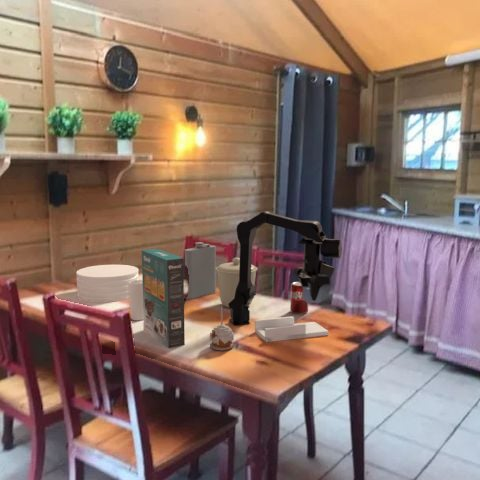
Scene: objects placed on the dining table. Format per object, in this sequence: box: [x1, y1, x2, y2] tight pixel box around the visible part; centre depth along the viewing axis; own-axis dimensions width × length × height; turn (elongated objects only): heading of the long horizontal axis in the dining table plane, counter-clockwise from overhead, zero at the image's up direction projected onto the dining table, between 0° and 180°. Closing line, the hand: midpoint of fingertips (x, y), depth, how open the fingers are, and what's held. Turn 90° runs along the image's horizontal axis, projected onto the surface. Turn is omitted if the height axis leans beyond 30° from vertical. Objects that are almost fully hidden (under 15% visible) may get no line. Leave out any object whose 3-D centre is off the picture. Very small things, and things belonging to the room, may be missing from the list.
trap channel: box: [254, 316, 329, 343], centre depth 187 cm, size 24×11×4 cm, turn 108°
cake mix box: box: [141, 248, 186, 349], centre depth 180 cm, size 22×6×30 cm, turn 32°
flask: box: [184, 241, 217, 300], centre depth 237 cm, size 17×5×25 cm, turn 137°
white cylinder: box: [128, 279, 144, 322], centre depth 202 cm, size 7×7×15 cm
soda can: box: [290, 281, 309, 315], centre depth 213 cm, size 7×7×12 cm
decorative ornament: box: [209, 303, 235, 351], centre depth 172 cm, size 8×8×15 cm
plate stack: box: [76, 264, 140, 303], centre depth 241 cm, size 28×28×12 cm
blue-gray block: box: [303, 286, 323, 304], centre depth 187 cm, size 5×5×5 cm
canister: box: [215, 257, 258, 309], centre depth 221 cm, size 18×18×21 cm
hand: (310, 298), depth 187 cm, fingers closed on blue-gray block, 5 cm apart
